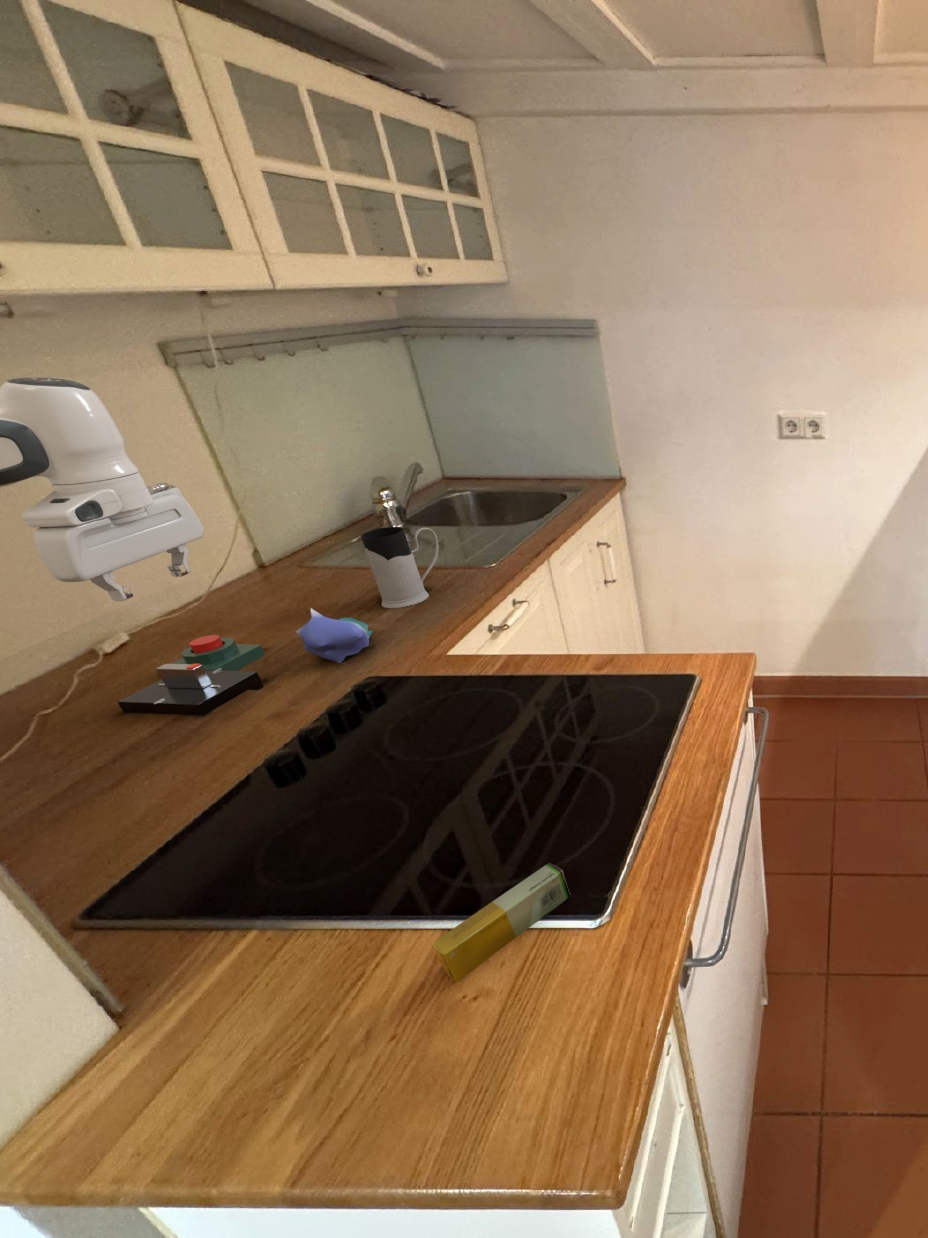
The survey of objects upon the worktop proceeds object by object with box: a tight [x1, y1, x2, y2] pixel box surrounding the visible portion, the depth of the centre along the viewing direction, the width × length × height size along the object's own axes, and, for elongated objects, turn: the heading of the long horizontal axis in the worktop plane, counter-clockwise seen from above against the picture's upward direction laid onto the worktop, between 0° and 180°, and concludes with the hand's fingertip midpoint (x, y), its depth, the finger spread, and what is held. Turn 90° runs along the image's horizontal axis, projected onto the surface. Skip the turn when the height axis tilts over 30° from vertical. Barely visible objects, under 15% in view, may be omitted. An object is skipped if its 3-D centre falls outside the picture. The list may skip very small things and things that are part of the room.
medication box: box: [431, 862, 571, 983], centre depth 65 cm, size 12×3×4 cm, turn 145°
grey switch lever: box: [155, 663, 212, 689], centre depth 106 cm, size 6×2×4 cm, turn 84°
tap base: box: [117, 668, 265, 717], centre depth 108 cm, size 14×11×3 cm
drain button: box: [188, 634, 223, 653], centre depth 117 cm, size 4×4×2 cm
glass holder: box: [360, 526, 440, 609], centre depth 143 cm, size 9×14×15 cm, turn 146°
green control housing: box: [170, 637, 266, 671], centre depth 118 cm, size 10×9×4 cm
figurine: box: [295, 608, 374, 664], centre depth 120 cm, size 13×12×9 cm
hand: (154, 586), depth 102 cm, fingers open, 8 cm apart
